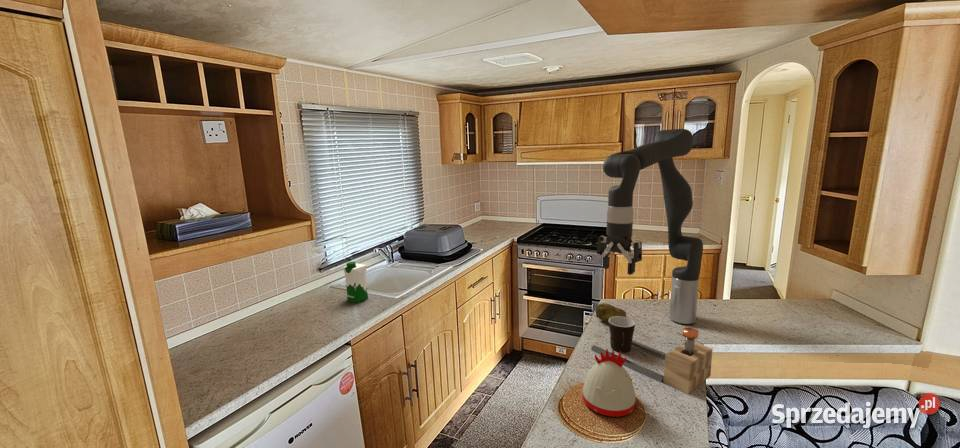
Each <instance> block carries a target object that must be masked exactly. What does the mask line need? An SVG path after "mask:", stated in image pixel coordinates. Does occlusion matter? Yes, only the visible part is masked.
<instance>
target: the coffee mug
mask: <svg viewBox="0 0 960 448" xmlns="http://www.w3.org/2000/svg"><path fill="white" fill-rule="evenodd" d="M608 321H609V323H608V329H609V342H610V348H611V350H614V352H616V353H619V352H620V351H621V354H626V353H629V352H631V350H632V346H631V344H632V340H633V338H634V333H635V327H636V322H635V320H633V318H632V319H631V318H630V317H627V316H626V317H621V316H615V317H611V318H609V320H608Z"/></svg>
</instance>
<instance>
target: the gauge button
mask: <svg viewBox="0 0 960 448" xmlns="http://www.w3.org/2000/svg"><path fill="white" fill-rule="evenodd" d="M682 336H683V337H684V338H685V340H684V343H685V352H684V354H685V355H688V356H692V355H693V354H694V343H695V339H698V338H699V330H698V329H696V328H693V327H683V329H682Z"/></svg>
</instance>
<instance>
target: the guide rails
mask: <svg viewBox="0 0 960 448" xmlns="http://www.w3.org/2000/svg"><path fill="white" fill-rule="evenodd" d="M590 347H591V349H590V350H591V351H592V352H594V353H597V354H598V355H600V352H602V353H603V355H604V356H605V355H606V350H607V349H604V348H602V347H600V346H597V345H595V344H594V345H592V346H590ZM631 347H633V348H636V349H638V350H641V351H643V352H645V353H647V354H650V355H652V356H654V357H657V358H660V359H661V360H664V361H665V355H666V354H667V353H666V352H663V351H661V350H658V349H655V348H654V347H652V346H651V347H650V346H648V345H645V344H643V343H641V342H638V341H636V340H633V339H632V344H631ZM608 352H609V356H610V357H611V355H612V351H609V350H608ZM614 355H615V357H616V358H617V357H618V355H617V354H615V353H614ZM624 358H625V357H622V356H621V359H624ZM622 366H623V367H626V368H629V369H631V370H633V371H634V372H635V371H636V372H637V373H639V374H641V375H643V376H647V377H648V378H650V379H653V380H656V381H657V382H660V383H664V374H661V373H658V372H656V371H654V370H651V369H649V368H648V367H644V366H642V365H640V364H638V363H636V362H633V361H631V360H629V359H627V358H626V361H625V362H624V364H623V365H622Z"/></svg>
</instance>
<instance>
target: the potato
mask: <svg viewBox="0 0 960 448" xmlns="http://www.w3.org/2000/svg"><path fill="white" fill-rule="evenodd" d="M594 311H595V316H596V318H597V319H599V320H600V321H602V322H606V323H608V324H609V321H608V320H609V318H611V317H615V316H621V317H627V312H626V311H625V309H622V308H619V307H616V306H614V305H611V304H610V303H603V302H602V303H599V304H597V305H596V306H595V310H594Z"/></svg>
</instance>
